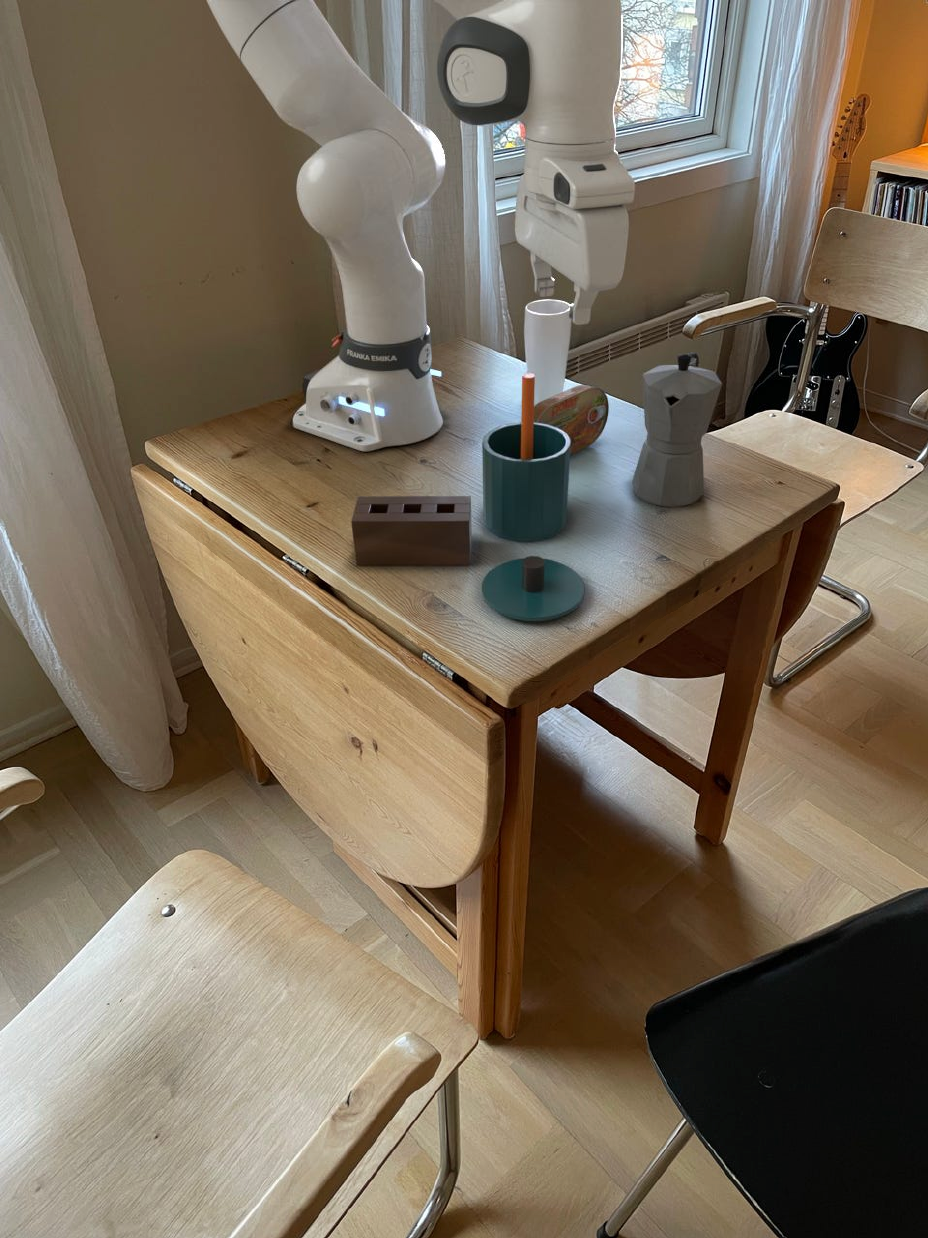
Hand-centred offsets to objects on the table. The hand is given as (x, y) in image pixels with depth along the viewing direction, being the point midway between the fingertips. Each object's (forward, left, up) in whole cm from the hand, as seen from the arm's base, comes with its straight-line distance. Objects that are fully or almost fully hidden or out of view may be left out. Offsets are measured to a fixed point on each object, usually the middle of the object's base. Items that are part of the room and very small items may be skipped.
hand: (561, 308), depth 97 cm
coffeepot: (+12, +11, -25) cm, 30 cm away
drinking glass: (-12, +28, -25) cm, 39 cm away
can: (-2, -4, -25) cm, 25 cm away
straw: (-2, -4, -24) cm, 25 cm away
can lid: (+5, -18, -24) cm, 31 cm away
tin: (-4, +15, -25) cm, 29 cm away
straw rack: (-11, -16, -25) cm, 32 cm away
